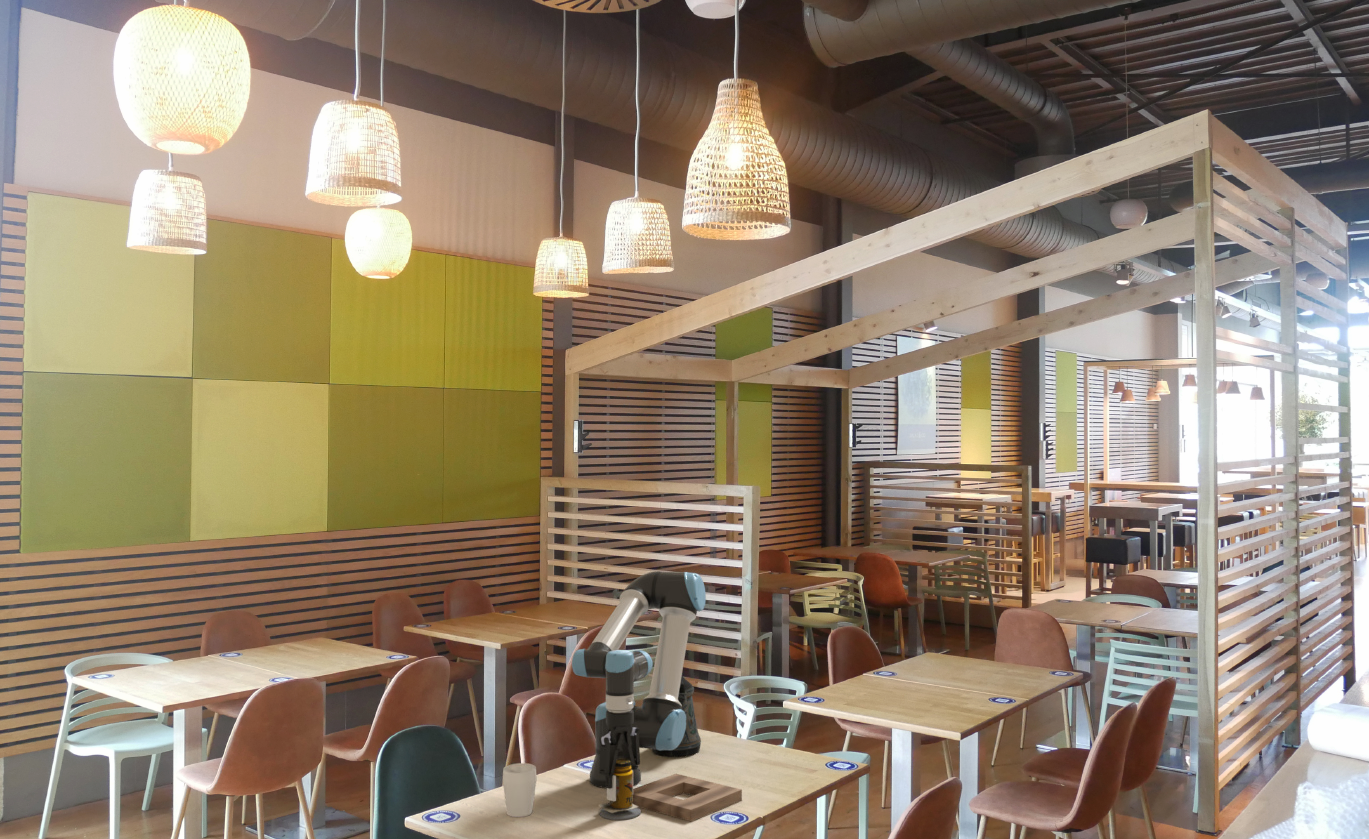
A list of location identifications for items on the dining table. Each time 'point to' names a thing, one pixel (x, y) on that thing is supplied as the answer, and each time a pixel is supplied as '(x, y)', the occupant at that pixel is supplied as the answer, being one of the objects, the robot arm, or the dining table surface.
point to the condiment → (622, 788)
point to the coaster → (620, 814)
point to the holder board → (692, 808)
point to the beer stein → (691, 735)
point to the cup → (519, 788)
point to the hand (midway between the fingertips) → (620, 796)
